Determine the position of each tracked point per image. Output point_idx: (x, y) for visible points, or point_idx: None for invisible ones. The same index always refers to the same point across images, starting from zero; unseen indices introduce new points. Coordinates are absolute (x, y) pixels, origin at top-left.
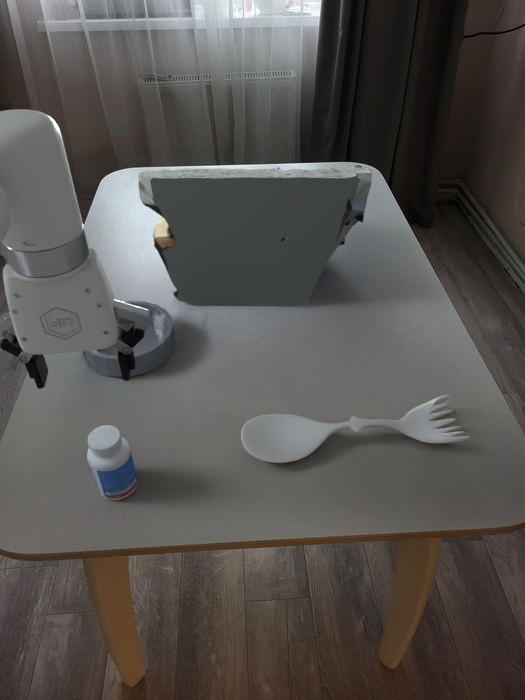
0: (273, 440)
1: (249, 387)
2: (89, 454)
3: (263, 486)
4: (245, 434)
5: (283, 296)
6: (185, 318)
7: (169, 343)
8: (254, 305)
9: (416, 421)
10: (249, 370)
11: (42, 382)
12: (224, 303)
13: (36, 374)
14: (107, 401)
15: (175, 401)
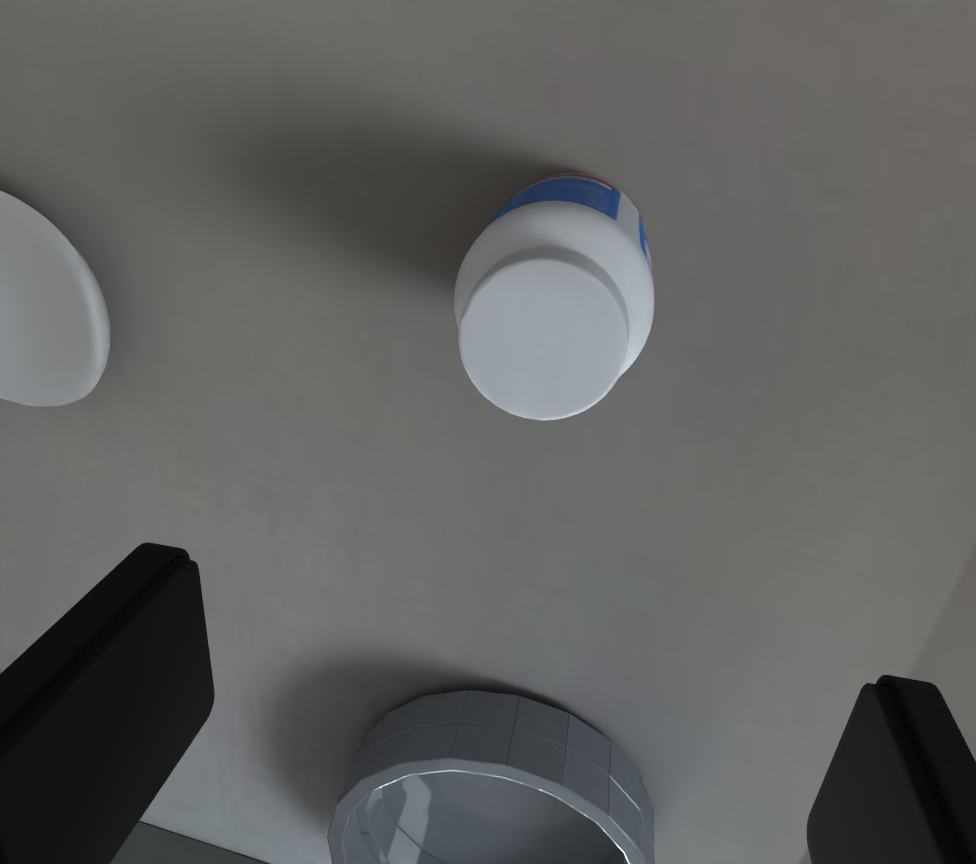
0: (16, 296)
1: (129, 541)
2: (637, 301)
3: (56, 117)
4: (84, 330)
5: None
6: None
7: (352, 773)
8: None
9: None
10: None
11: (888, 729)
12: (211, 855)
13: (971, 844)
14: (587, 620)
15: (360, 555)
